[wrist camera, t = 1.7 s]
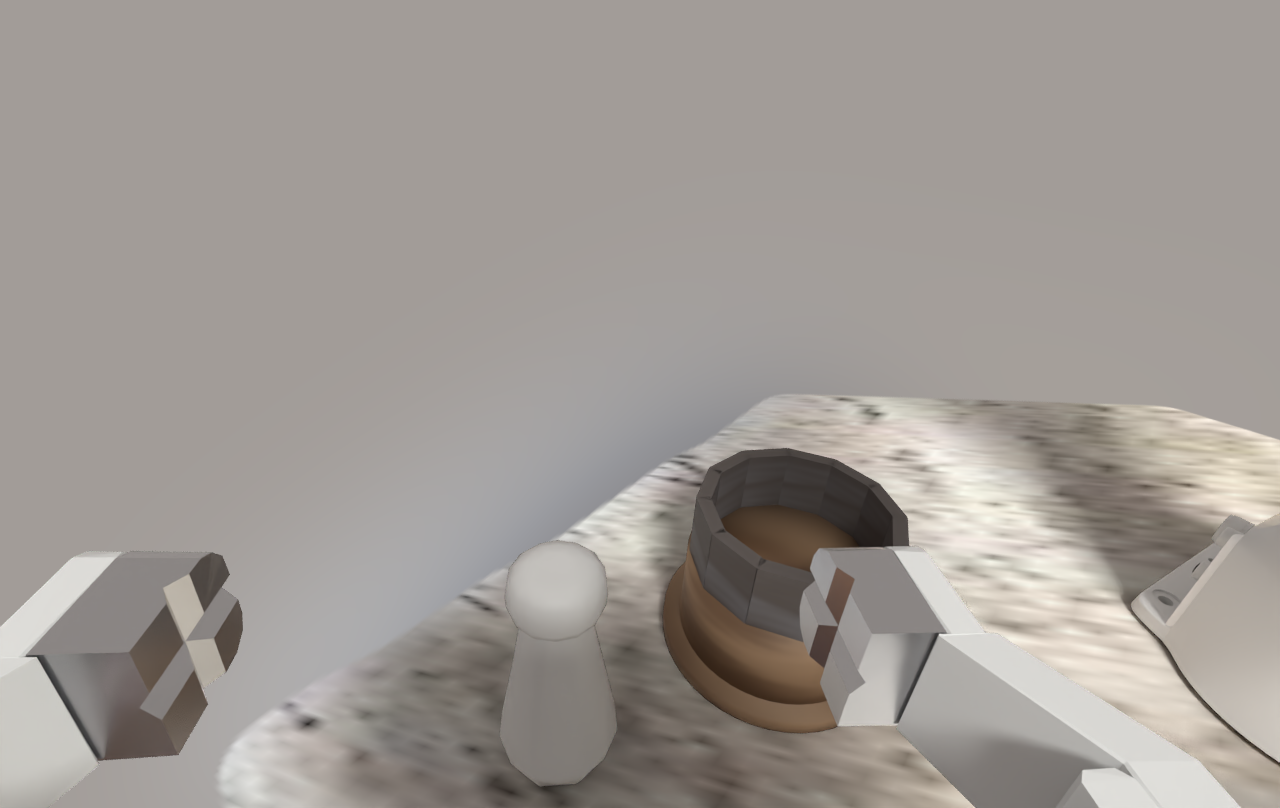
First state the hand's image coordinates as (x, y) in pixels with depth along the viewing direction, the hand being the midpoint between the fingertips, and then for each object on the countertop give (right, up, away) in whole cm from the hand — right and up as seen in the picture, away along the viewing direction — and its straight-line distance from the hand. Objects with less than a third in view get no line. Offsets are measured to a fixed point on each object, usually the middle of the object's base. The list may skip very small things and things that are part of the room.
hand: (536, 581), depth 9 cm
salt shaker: (-3, -16, +23) cm, 28 cm away
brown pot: (+10, -12, +31) cm, 34 cm away
